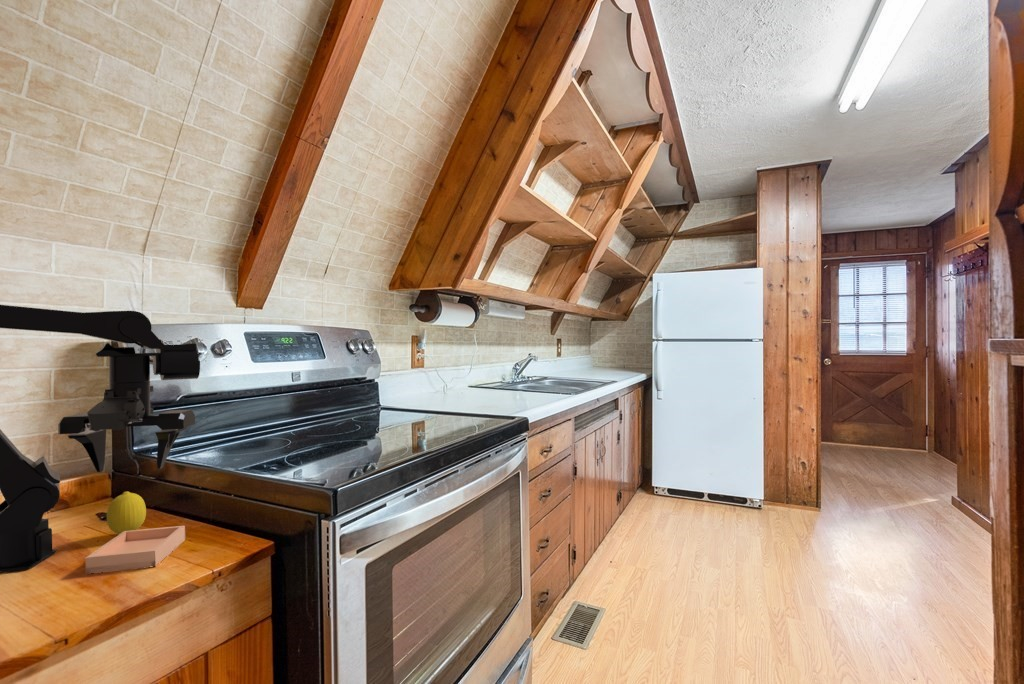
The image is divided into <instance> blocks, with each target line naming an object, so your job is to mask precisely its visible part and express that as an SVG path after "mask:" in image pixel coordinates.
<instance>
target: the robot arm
mask: <svg viewBox="0 0 1024 684" xmlns="http://www.w3.org/2000/svg"><path fill="white" fill-rule="evenodd" d="M0 329H7V330H20V331H21V330H22V331H34V332H47V333H48V332H49V333H61V334H62V333H63V334H76V335H82V336H88V337H92V338H96V339H102V340H107V341H111V342H115V343H120V344H129V345H130V344H131V345H132V344H135V345H136V346H139V347H140V348H143V349H145V350H147V349H148V350H150V349H151V350H156V352H136V349H135V346H117V347H116V346H113V345H112V344H111V343H110V342H106V343H105V344H104V345H103V347H102V348H101V349H99V350H97V351H96V352H95V353H94V356H95V357H98V358H103V357H104V358H105V357H106V358H107V357H108V369H109V370H108V380H109V382H108V388H106V389H104V393H103V399H102V401H101V402H98V403H97V404H95V405H94V406H93V407H92V408H91V409H89V410H88V411H87V412H85V413H75V414H71V415H66V416H63V417H62V418H61V419H60V420H59V422H58V425H57V426H58V427H57V430H58V432H57V433H58V435H67V438H68V439H73V440H76V441H77V442H78V443H80V444H81V445H82V447H83V448H84V449H85V451H86V453H87V454H88V456H89V459H90V460H91V462H92V464H93V466H94V468H95V470H96V472H97V473H102V472H104V468H105V463H106V445H107V444H106V443H107V442H106V440H107V430H112V431H118V430H119V431H120V430H123V429H126V427H128V428H129V427H145V426H146V427H147V426H148V427H149V426H150V427H151V426H157V427H158V428H159V429H160V430H159V431H155V432H154V433H155V436H156V438H157V449H156V450H157V453H156V467H157V469H158V470H160V469H162V468H163V467H164V465H165V463H166V461H167V459H168V456H169V453H170V452H171V450H172V448H173V446H174V444H175V441H177V438H178V437H179V435H180V433H181V432H184V431H186V430H187V429H188V427H192V426H193V425H195V424H196V415H195V412H194V411H193V410H192V409H177V410H176V409H175V410H174V409H173V410H171V409H170V410H167V411H164V412H160V413H158V414H157V415H156V414H155V415H154V408H153V407H151V393H152V392H154V385H151V360H150V359H151V357H152V371H153V375H154V376H159V375H160V380H161V381H173V380H174V381H177V380H179V381H180V380H194V379H195V380H197V379H198V378H199V377H200V372H201V361H200V360H199V352H198V350H197V344H196V343H191V342H190V343H184V344H165V343H163V342H162V339H159V337H158V336H157V335H156V334H155V333H154V332H153V331H152V323H151V321H150V319H149V317H148V316H147V315H145V314H144V313H142V312H141V311H135V310H113V311H112V310H109V311H89V312H80V311H70V310H61V309H60V310H58V309H50V308H38V307H28V306H19V305H18V306H16V305H7V304H0ZM60 483H61V475H60V473H59V472H57V471H55V470H53V469H52V468H51V467H50V465H49V462H48V461H47V458H45V456H44V455H43V456H41V457H39V458H38V459H36V460H35V461H33V460H32V459H31V458H29V457H27V456H26V455H24V454H23V453H22V452H21V451H20V450H19V449H18V448H17V446H15V444H14V443H13V442H12V441H11V439H9V437H8V436H7V435H6V434H5V433H4V431H2V429H1V428H0V492H1V494H2V496H3V498H4V500H3V501H2V502H1V503H0V573H3V572H4V573H6V572H13V571H14V572H15V571H26V570H28V569H31V568H33V567H34V566H36V565H38V564H39V563H41V562H43V561H44V560H47V559H48V558H49V557H51V556H52V555H54V554H56V553H57V549H56V548H53V530H52V527H50V526H49V525H50V524H49V518H43V517H44V515H45V514H46V513H48V512H49V511H50V510H52V509H53V508H54V507H55V506H56V505H57V503H58V502H59V499H60V496H61V493H60Z"/></svg>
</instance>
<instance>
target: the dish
mask: <svg viewBox="0 0 1024 684" xmlns="http://www.w3.org/2000/svg"><path fill="white" fill-rule="evenodd" d="M185 540H186V526H185V525H177V526H176V525H175V526H166V527H156V528H154V527H153V528H143V529H137V530H130V531H124V532H122V533H121V534H118V535H117V536H114V537H113V538H112V539H110V540H109V541H107V542H106V543H104V544H103V545H101V546H100V547H99V548H97V549H96V550H95V551H93V552H91V553H90V554H89V555H87V556H86V557H85V558H84V560H85V561H84V562H85V575H92V574H91V573H94V574H100V573H101V572H103V573H112V572H119V570H122V571H127V570H126V569H132V570H136V569H135V568H141V569H145V568H144V567H150V566H156V565H157V564H158V563H159V564H160V562H161V561H162V560H163V559H164V558H165V557H166V556H167V557H168V556H169V555H170V554H172V553H173V552H174V551H175V550H176V549H177V548H178V547H180V546H181V544H182V543H183V542H184V541H185ZM172 551H173V552H172ZM167 557H166V558H167ZM166 558H165V559H166ZM165 559H164V560H165ZM164 560H163V561H164ZM163 561H162V562H163ZM162 562H161V563H162ZM159 564H158V565H159ZM158 565H157V566H158ZM157 566H156V567H157ZM101 574H102V573H101Z"/></svg>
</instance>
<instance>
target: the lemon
mask: <svg viewBox="0 0 1024 684" xmlns="http://www.w3.org/2000/svg"><path fill="white" fill-rule="evenodd" d="M146 516H147V507H146V503H145V500H144V499H143V497H142V496H140V495H139V494H137V493H134V492H130V491H123V492H122V494H120V495H117V496H116V497H114V499H113V500H112V501H111V502H110V504H109V505H108V508H107V512H106V523H107V525H108V528H109V529H110V530H111V531H112V532H113V533H115V534H118V535H119V534H121V533H122V532H124V531H130V530H139V529H140V527H141V526H142V525H143V523H144V522H145V519H146Z"/></svg>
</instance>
